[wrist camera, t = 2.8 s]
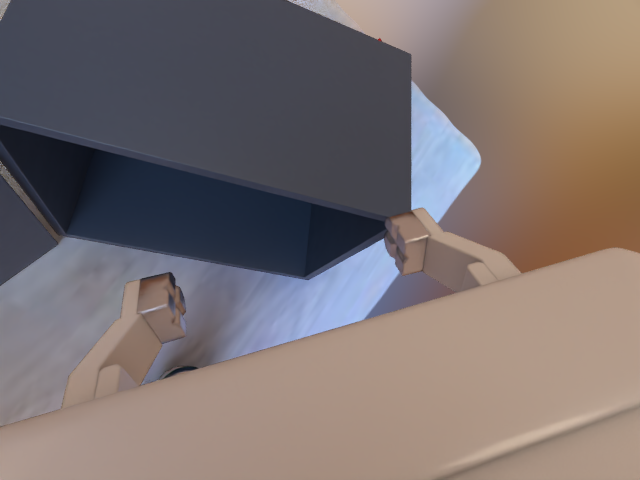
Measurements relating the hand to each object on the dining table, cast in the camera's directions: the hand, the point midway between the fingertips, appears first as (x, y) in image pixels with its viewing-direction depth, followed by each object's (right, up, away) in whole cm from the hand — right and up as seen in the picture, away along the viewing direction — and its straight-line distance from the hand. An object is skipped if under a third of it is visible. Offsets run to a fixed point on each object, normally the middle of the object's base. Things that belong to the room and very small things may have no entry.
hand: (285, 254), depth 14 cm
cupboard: (-13, +7, +36) cm, 39 cm away
